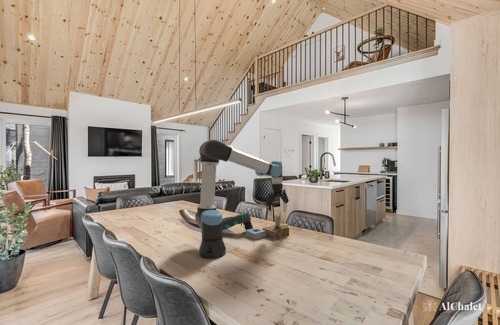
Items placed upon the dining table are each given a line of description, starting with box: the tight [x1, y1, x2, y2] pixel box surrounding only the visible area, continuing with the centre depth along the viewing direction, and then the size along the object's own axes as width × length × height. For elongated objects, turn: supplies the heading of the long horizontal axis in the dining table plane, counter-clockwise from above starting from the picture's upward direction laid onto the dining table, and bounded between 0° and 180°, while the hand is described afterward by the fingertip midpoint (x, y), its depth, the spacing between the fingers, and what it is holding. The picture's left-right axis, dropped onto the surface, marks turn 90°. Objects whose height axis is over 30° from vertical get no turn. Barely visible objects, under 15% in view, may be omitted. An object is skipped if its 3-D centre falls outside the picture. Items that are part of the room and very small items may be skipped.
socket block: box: [261, 224, 290, 240], centre depth 168 cm, size 14×12×5 cm
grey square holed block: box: [245, 227, 267, 241], centre depth 166 cm, size 10×10×4 cm
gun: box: [222, 211, 254, 231], centre depth 177 cm, size 7×29×15 cm, turn 87°
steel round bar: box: [274, 214, 281, 229], centre depth 169 cm, size 3×3×13 cm
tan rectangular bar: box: [279, 223, 289, 229], centre depth 166 cm, size 7×2×2 cm, turn 128°
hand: (278, 213), depth 169 cm, fingers open, 13 cm apart
